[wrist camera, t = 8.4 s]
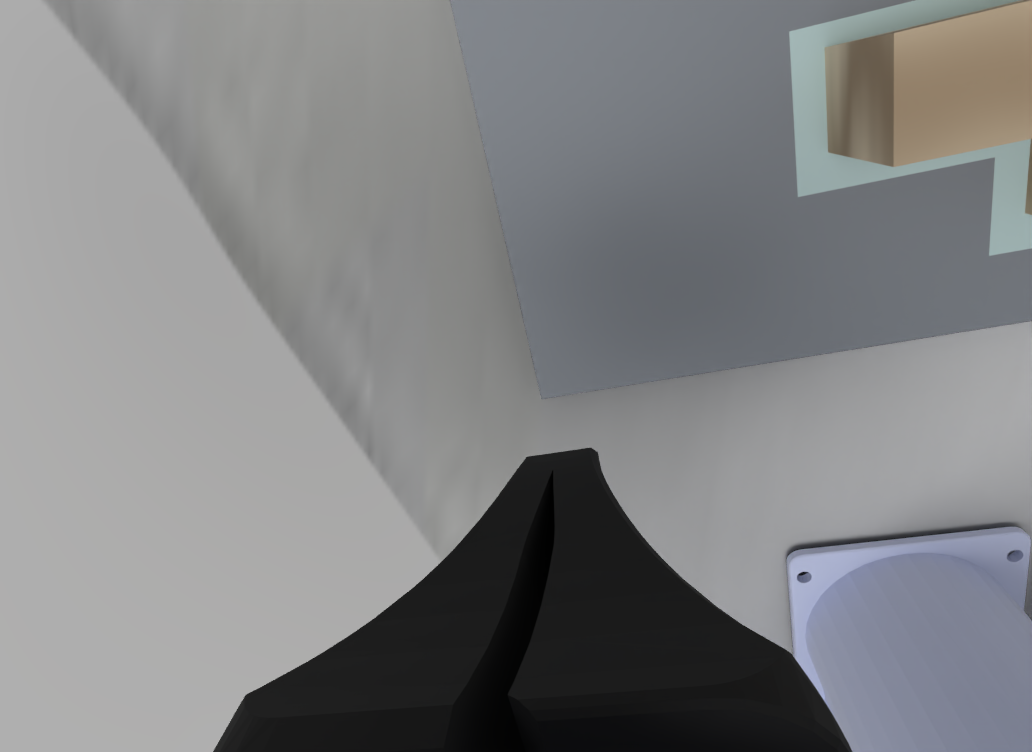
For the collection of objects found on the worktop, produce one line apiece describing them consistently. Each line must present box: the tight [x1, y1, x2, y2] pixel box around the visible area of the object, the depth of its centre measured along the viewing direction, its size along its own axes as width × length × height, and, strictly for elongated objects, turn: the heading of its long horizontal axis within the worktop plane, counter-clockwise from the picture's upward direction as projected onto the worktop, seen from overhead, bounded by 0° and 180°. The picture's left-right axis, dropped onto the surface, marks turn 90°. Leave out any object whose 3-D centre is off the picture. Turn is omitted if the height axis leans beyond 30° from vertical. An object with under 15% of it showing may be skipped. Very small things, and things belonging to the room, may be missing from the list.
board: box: [450, 0, 1032, 399], centre depth 17 cm, size 15×19×1 cm
